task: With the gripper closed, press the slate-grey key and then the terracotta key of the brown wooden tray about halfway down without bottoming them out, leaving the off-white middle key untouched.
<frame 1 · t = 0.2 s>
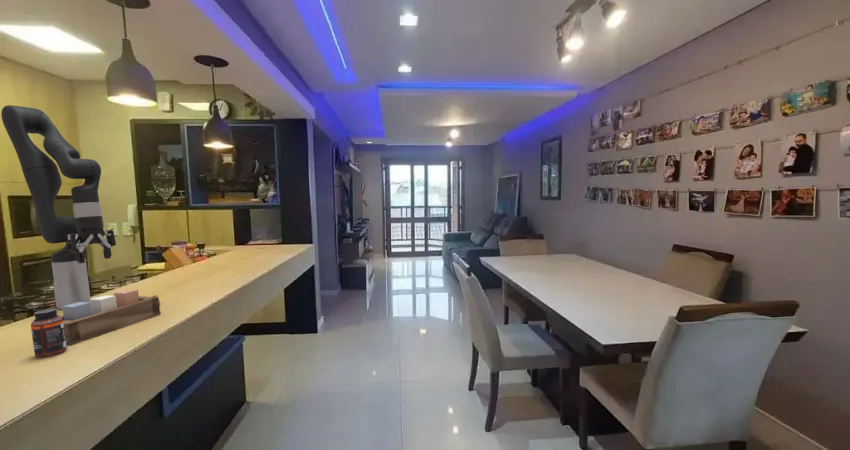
hand: (95, 260, 137), 17 cm above the counter, tool pointing down, fingers open, 8 cm apart
terracotta key: (127, 299, 124), point 7 cm above the counter, slide at 0.0 cm
slate key: (77, 312, 110), point 7 cm above the counter, slide at 0.0 cm
pastry: (146, 308, 138), on the counter
supplement bottle: (51, 354, 99), on the counter
brown wooden tray: (106, 326, 118), on the counter
white key: (103, 305, 117), point 7 cm above the counter, slide at 0.0 cm
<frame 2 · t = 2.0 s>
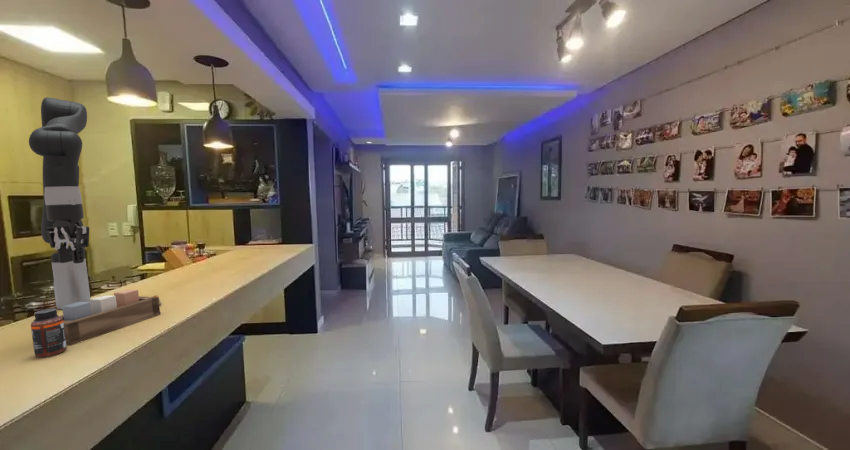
hand: (71, 262, 109), 21 cm above the counter, tool pointing down, fingers open, 5 cm apart
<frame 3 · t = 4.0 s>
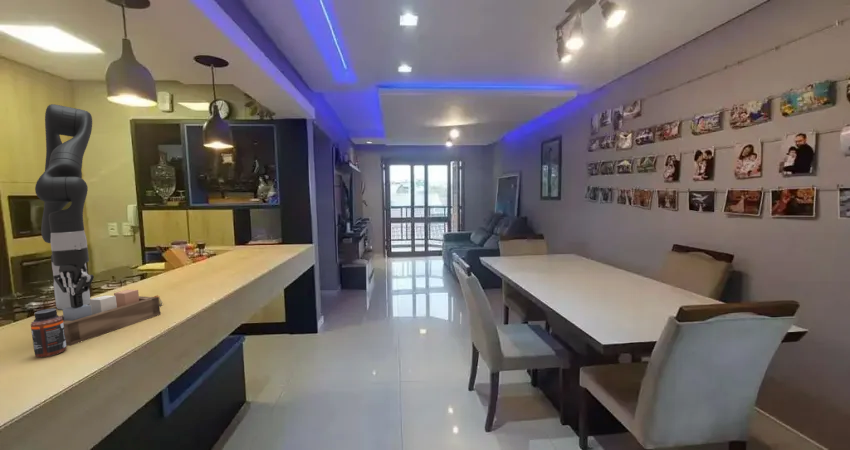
hand: (77, 307, 110), 8 cm above the counter, tool pointing down, fingers closed
slate key: (77, 315, 111), point 6 cm above the counter, slide at 0.8 cm, touching gripper
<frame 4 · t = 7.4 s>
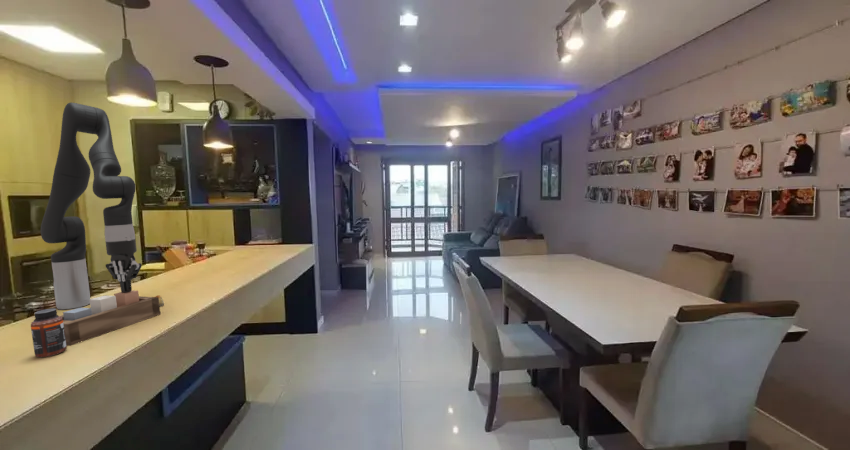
hand: (126, 292, 124), 9 cm above the counter, tool pointing down, fingers closed
terracotta key: (127, 299, 124), point 6 cm above the counter, slide at 0.3 cm, touching gripper
slate key: (78, 318, 111), point 5 cm above the counter, slide at 1.7 cm
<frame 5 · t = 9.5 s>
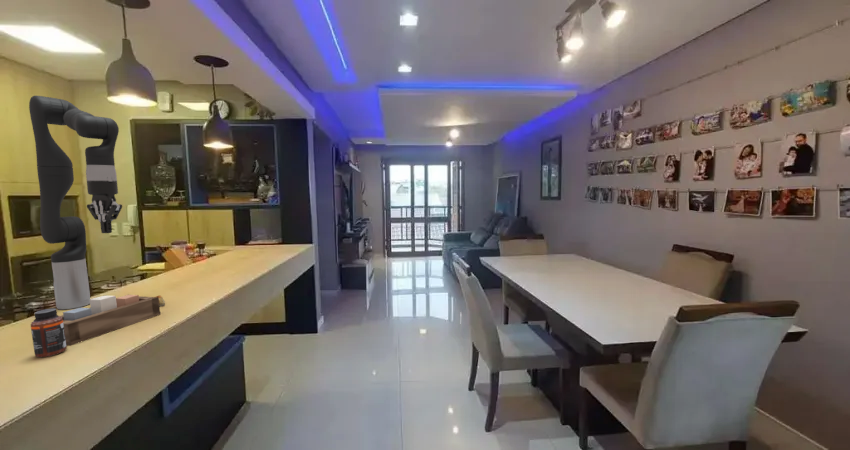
hand: (106, 233, 125), 28 cm above the counter, tool pointing down, fingers closed
terracotta key: (127, 304, 124), point 5 cm above the counter, slide at 1.7 cm
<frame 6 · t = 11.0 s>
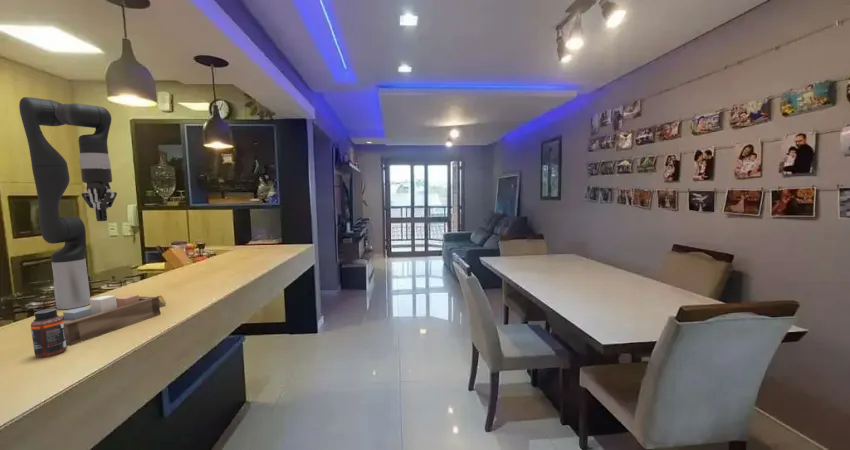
hand: (102, 221, 126), 32 cm above the counter, tool pointing down, fingers closed
at the end: slate key slide at 1.7 cm; terracotta key slide at 1.7 cm; white key slide at 0.0 cm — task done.
